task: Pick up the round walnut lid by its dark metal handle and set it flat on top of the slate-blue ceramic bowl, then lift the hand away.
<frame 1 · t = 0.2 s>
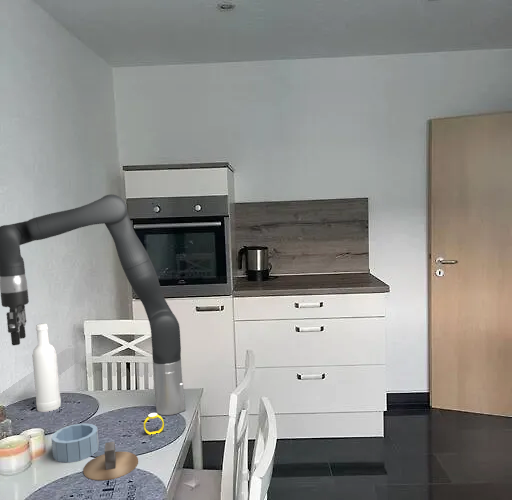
hand: (19, 341, 153), 29 cm above the table, tool pointing down, fingers open, 8 cm apart
bottle: (49, 408, 174), on the table
lid: (111, 467, 131), on the table
bowl: (76, 451, 140), on the table
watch: (154, 433, 149), on the table
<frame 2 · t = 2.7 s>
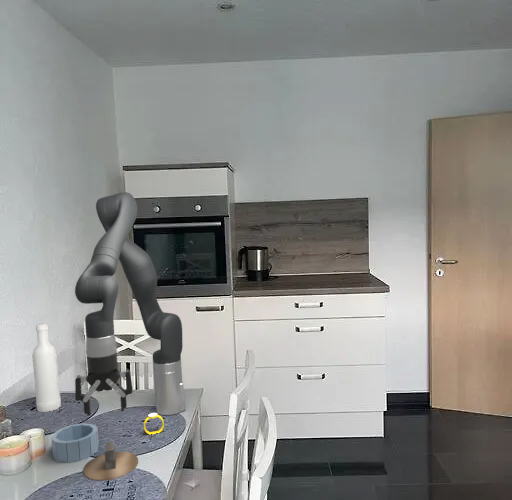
hand: (105, 412, 130), 15 cm above the table, tool pointing down, fingers open, 8 cm apart
nothing on the table moved.
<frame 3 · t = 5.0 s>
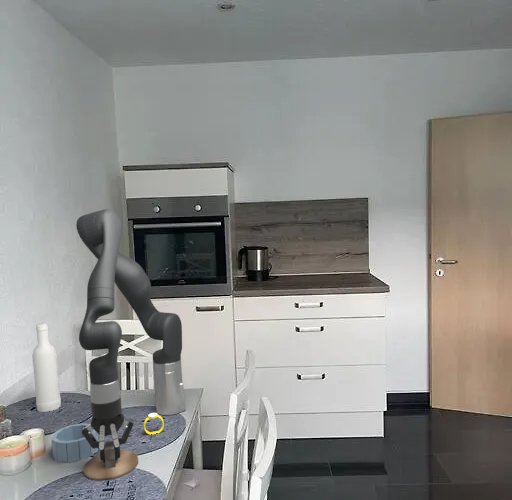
hand: (110, 459, 131), 2 cm above the table, tool pointing down, fingers closed on lid, 2 cm apart
lid: (111, 465, 131), on the table, touching gripper
everything else where it was.
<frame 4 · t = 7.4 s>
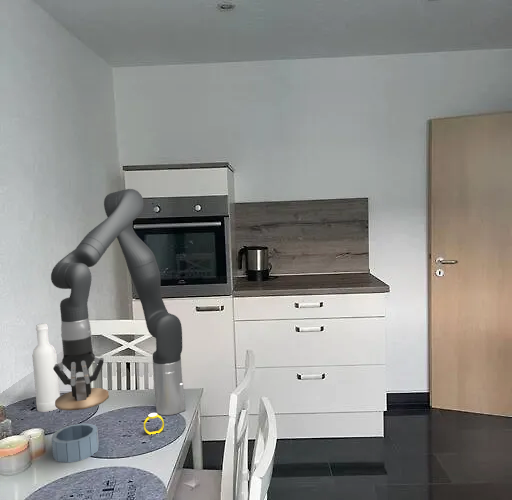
hand: (82, 396, 136), 17 cm above the table, tool pointing down, fingers closed on lid
lid: (82, 400, 136), point 16 cm above the table, touching gripper
everything else where it was.
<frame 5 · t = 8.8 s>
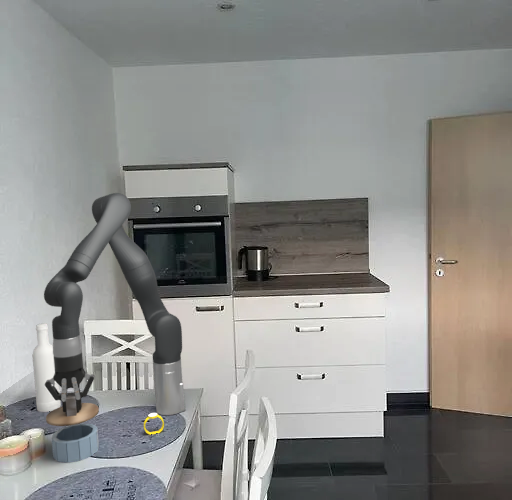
hand: (72, 412, 139), 12 cm above the table, tool pointing down, fingers closed on lid
lid: (72, 415, 140), point 11 cm above the table, touching gripper
everything else where it was.
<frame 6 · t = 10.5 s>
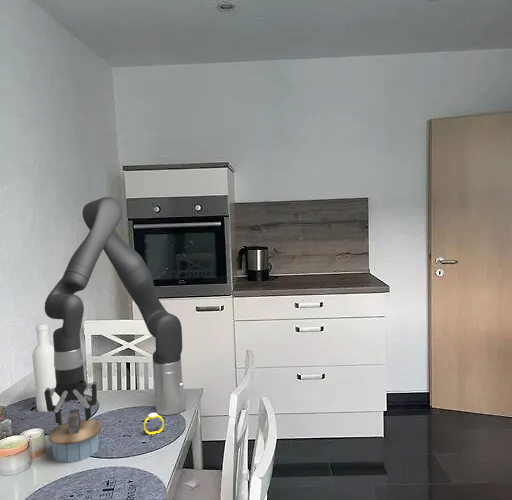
hand: (73, 421, 140), 9 cm above the table, tool pointing down, fingers open, 6 cm apart
lid: (75, 432, 140), point 5 cm above the table, touching bowl
everything else where it was.
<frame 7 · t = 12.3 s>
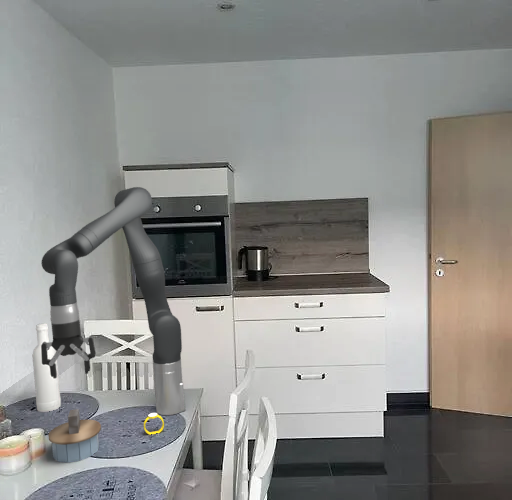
hand: (71, 375, 141), 21 cm above the table, tool pointing down, fingers open, 8 cm apart
nothing on the table moved.
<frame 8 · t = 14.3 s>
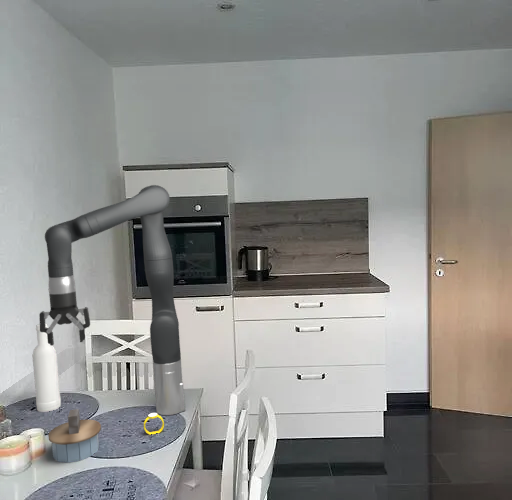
hand: (66, 343, 151), 28 cm above the table, tool pointing down, fingers open, 8 cm apart
nothing on the table moved.
at the end: lid 0.1 cm off-centre on the bowl, point 5.5 cm above the bowl's base; lid tilted 0°; the gripper is holding nothing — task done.
